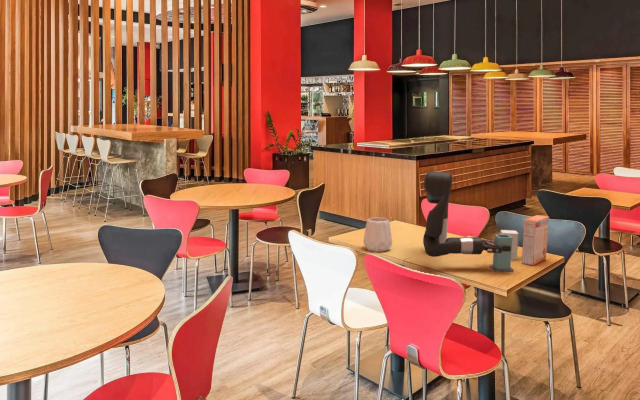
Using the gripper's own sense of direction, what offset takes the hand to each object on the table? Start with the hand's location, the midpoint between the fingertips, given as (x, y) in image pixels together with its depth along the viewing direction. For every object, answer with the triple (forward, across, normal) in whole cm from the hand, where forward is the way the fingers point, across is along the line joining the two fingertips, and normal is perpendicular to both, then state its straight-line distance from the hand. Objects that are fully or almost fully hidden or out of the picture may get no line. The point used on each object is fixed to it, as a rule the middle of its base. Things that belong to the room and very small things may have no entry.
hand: (507, 246), depth 232 cm
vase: (-54, +31, +11) cm, 63 cm away
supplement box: (+7, +19, +11) cm, 23 cm away
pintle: (-2, 0, +10) cm, 11 cm away
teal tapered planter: (-2, 0, +10) cm, 10 cm away
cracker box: (+17, +13, +11) cm, 24 cm away
